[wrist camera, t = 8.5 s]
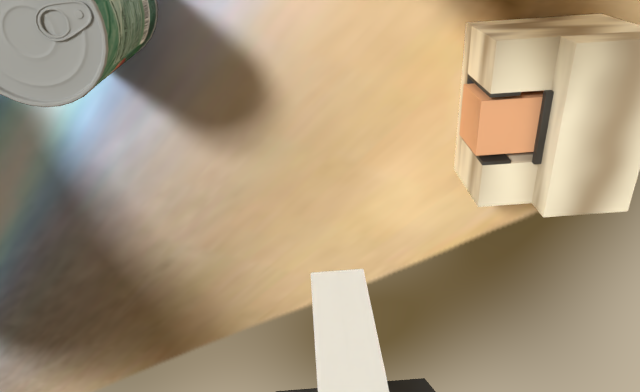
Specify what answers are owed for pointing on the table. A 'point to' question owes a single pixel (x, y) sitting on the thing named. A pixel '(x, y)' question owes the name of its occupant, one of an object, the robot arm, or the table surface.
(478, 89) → the peg
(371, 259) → the table surface
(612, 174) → the sleeve
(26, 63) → the canned tomato
